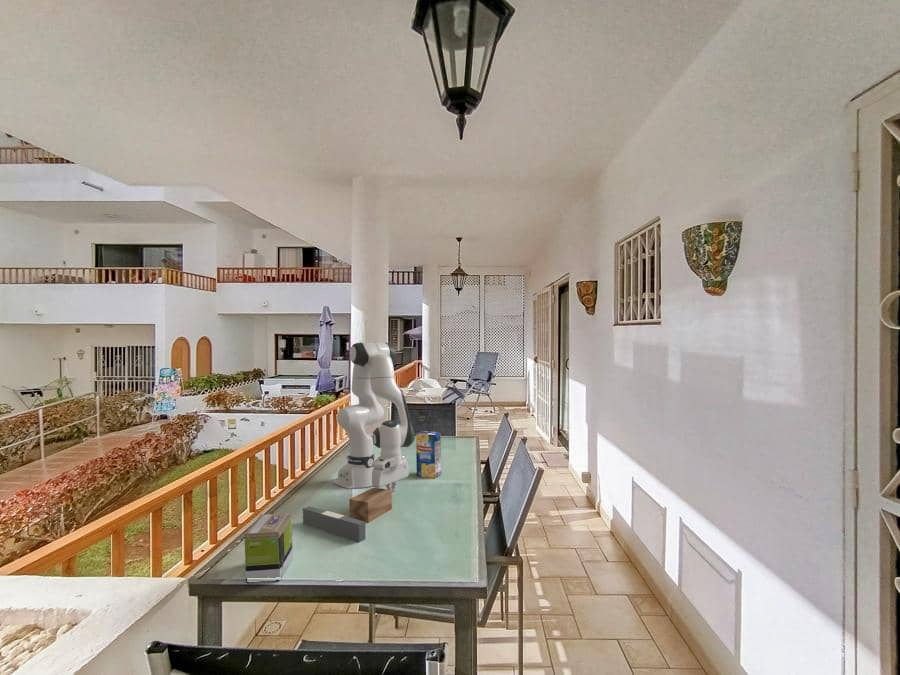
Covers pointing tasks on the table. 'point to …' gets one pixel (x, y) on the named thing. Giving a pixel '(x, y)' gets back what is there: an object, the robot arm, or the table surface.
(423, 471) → the beverage box
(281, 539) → the tea box
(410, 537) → the table surface
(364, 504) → the walnut block
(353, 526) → the stop board
